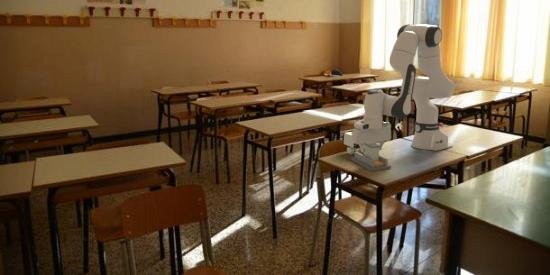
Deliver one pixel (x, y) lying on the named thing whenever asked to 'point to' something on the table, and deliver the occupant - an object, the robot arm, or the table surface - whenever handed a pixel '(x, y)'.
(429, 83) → the robot arm
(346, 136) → the pneumatic valve
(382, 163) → the brown flat bar
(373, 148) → the module block
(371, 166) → the channel rail
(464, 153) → the table surface
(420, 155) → the table surface
